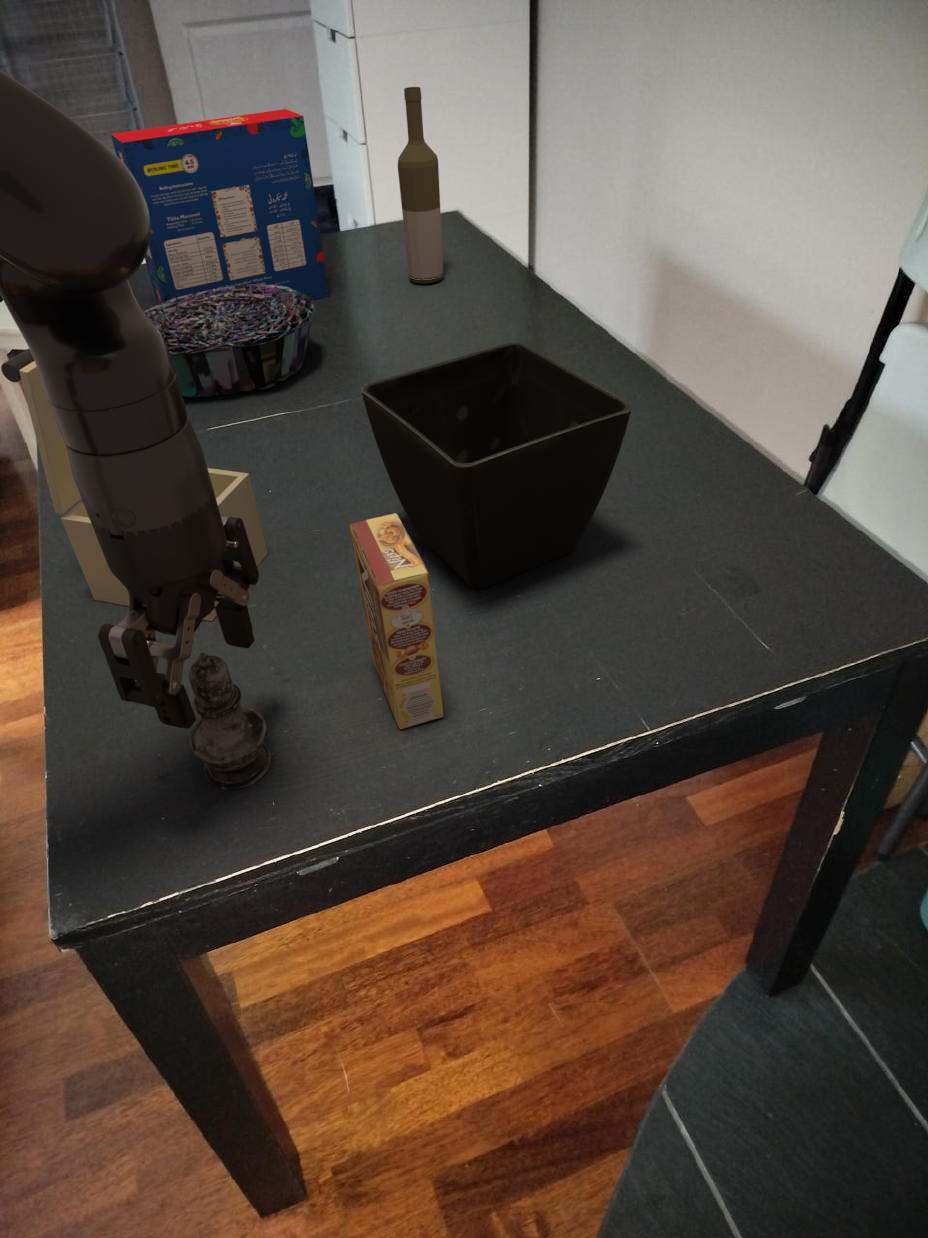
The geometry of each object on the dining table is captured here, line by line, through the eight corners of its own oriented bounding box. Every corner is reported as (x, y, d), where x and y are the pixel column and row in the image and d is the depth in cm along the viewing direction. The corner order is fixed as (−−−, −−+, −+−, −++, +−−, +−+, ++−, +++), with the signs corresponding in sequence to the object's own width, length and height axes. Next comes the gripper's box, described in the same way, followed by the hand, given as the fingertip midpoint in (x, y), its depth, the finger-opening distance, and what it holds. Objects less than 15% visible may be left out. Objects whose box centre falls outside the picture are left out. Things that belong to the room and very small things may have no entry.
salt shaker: (185, 781, 68) (142, 670, 60) (228, 729, 72) (192, 619, 64) (248, 801, 66) (212, 689, 58) (288, 747, 70) (259, 636, 62)
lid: (111, 319, 78) (60, 306, 79) (26, 372, 70) (-30, 356, 71) (134, 454, 88) (88, 441, 89) (62, 515, 80) (11, 499, 81)
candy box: (446, 718, 72) (433, 571, 62) (397, 732, 71) (376, 585, 61) (415, 652, 78) (398, 510, 68) (370, 665, 77) (347, 521, 67)
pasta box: (312, 283, 157) (285, 108, 139) (329, 295, 152) (303, 115, 134) (160, 317, 147) (110, 133, 129) (173, 331, 142) (122, 142, 124)
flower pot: (624, 554, 88) (637, 402, 77) (469, 623, 81) (460, 466, 70) (518, 478, 101) (517, 338, 90) (376, 531, 94) (356, 386, 83)
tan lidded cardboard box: (268, 553, 91) (249, 473, 85) (211, 621, 83) (186, 537, 77) (158, 536, 95) (132, 457, 89) (93, 599, 86) (60, 518, 80)
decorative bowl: (346, 393, 125) (342, 324, 119) (151, 425, 115) (136, 352, 109) (293, 335, 143) (287, 273, 137) (121, 359, 133) (106, 293, 127)
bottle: (450, 274, 158) (439, 83, 138) (440, 287, 152) (427, 91, 133) (413, 272, 159) (397, 84, 140) (402, 285, 154) (384, 92, 135)
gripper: (161, 432, 59) (216, 614, 69) (21, 550, 48) (111, 743, 59) (258, 443, 57) (300, 629, 67) (134, 569, 47) (207, 765, 57)
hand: (212, 682), depth 63 cm, fingers open, 8 cm apart
